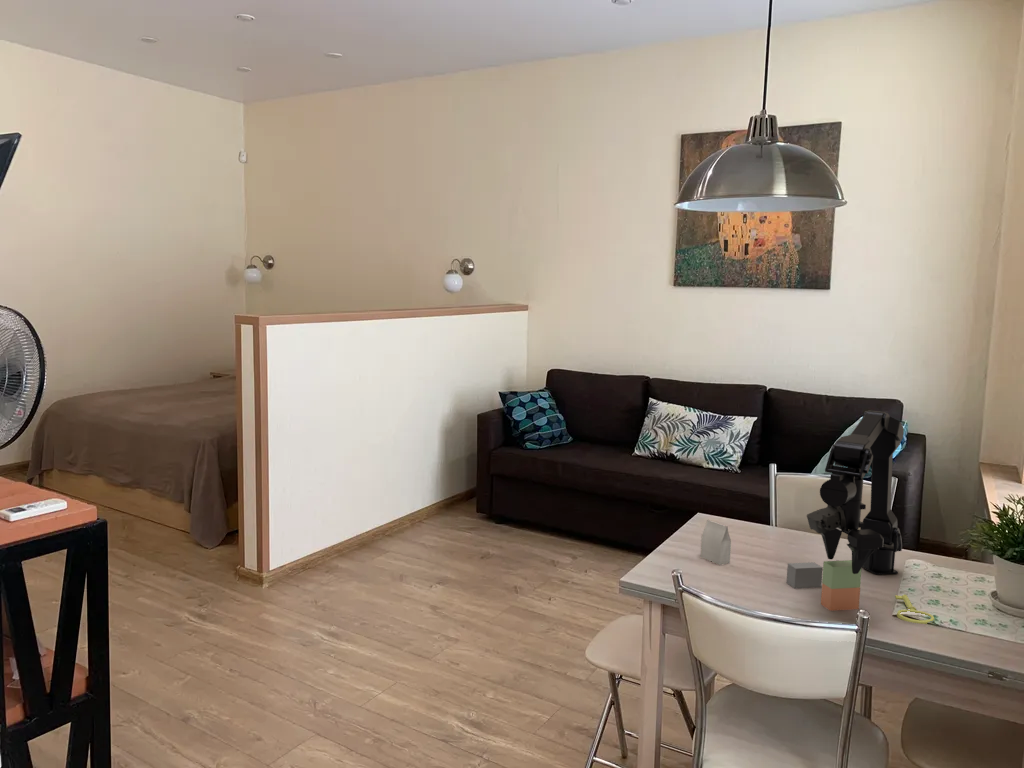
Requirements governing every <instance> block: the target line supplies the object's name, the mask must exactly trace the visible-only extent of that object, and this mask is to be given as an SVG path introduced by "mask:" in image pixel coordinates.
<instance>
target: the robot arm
mask: <svg viewBox="0 0 1024 768" xmlns="http://www.w3.org/2000/svg"><path fill="white" fill-rule="evenodd" d="M904 430H905V429H904V426H903V424H902V422H901V421H900V420H898V419H896V418H894V417H892V416H890V414H889V413H887V412H885V411H879V410H871V409H868V410H865V411H864V412H863V415H862V419H861V420H860V421H859V422H858V424H857V425H856V427H855V428H854V429H853V430H852V432H851V433H850V434H849V435H845V436H841V437H840V438H838V439H837V440H836V441H835V443H834V444H832V445H831V448H830V451H829V455H828V459H827V462H826V465H825V468H824V471H825V473H831V474H830V478H829V479H827V480H826V481H824V482H823V483H822V484H821V486H820V489H819V496H820V498H821V499H822V501H823V502H824V504H826V507H824V508H823V507H822V508H819V509H816V510H815V511H811V512H810V513H807V514H806V518H807V522H808V525H809V530H813V531H815V532H816V533H817V534H819V535H821V537H822V541H823V546H824V549H825V552H826V556H827V559H828V560H833V559H834V557H835V555H836V553H837V550H838V547H839V543H840V539H841V537H842V533H844V534H846V535H847V542H848V543H846V546H847V547H848V548H849V549H850V551H851V560H852V573H853V574H858V573H859V571H860V570H861V568H862V569H865V570H867V571H869V572H870V573H871V574H874V575H891V574H892V575H893V574H894V575H896V574H899V571H898V570H896V569H895V561H896V560H895V557H896V553H897V552H902V549H903V542H902V541H903V539H902V534H901V530H900V528H899V527H898V518H897V516H896V515H895V513H894V512H893V510H892V509H891V508H892V504H891V503H892V486H893V485H892V483H893V459H894V458H893V456H894V453H895V451H896V450H897V449H898V448H899V447H900V445H901V442H902V441H903V439H904V432H905V431H904ZM870 468H871V485H870V509H869V512H867V514H866V515H865V517H864V518H863V520H862V521H861V515H862V514H861V513H862V510H866V504H865V503H863V501H862V500H863V492H864V491H863V488H864V477H865V475H866V474H867V475H868V474H869V471H870Z"/></svg>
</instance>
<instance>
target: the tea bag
mask: <svg viewBox="0 0 1024 768" xmlns="http://www.w3.org/2000/svg"><path fill="white" fill-rule="evenodd" d="M729 533H730V532H729V529H728V526H727V525H724V524H721V523H719V522H717V521H712V520H709V519H706V523H705V526H704V528H703V531H702V533H701V537H700V538H701V540H700V542H701V543H700V557H702V558H701V559H703V558H704V559H703V560H705V559H707V560H706V561H708V560H709V561H708V562H710V561H712V562H711V563H713V562H714V563H713V564H715V563H716V564H715V565H717V564H718V565H717V566H723V565H722V564H724V565H727V563H728V564H731V552H732V551H731V546H732V540H731V536H730V534H729ZM700 557H699V558H700Z"/></svg>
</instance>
